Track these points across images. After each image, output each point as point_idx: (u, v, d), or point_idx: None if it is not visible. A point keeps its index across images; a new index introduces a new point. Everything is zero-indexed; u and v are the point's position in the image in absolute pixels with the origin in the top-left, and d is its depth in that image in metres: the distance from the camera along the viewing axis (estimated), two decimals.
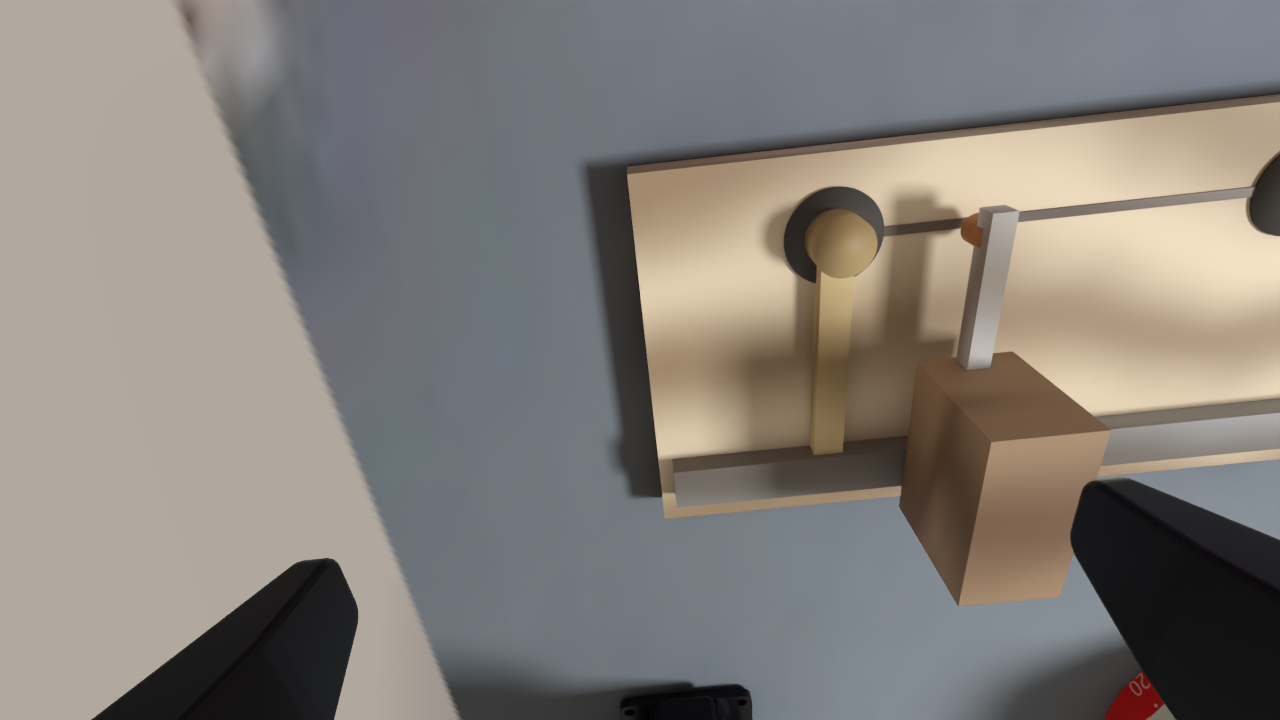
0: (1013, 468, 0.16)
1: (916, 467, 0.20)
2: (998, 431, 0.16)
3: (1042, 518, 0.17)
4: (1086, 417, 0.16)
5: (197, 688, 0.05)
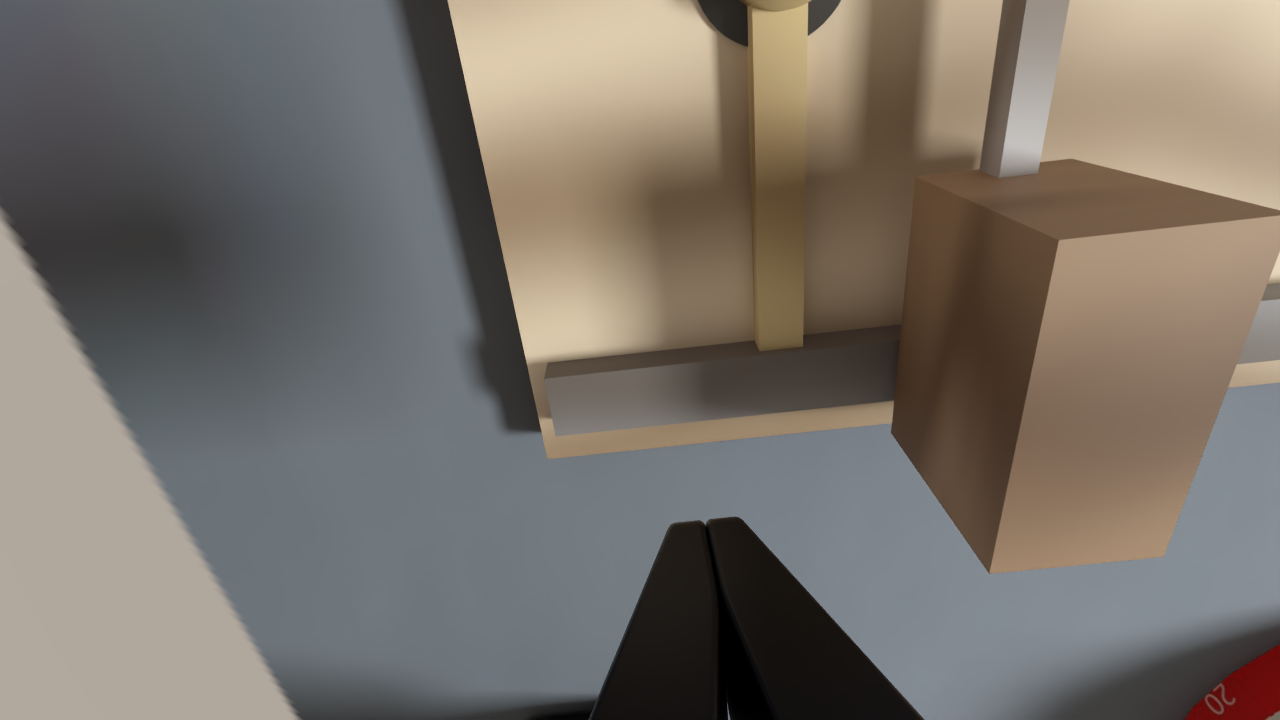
0: (1097, 300, 0.08)
1: (915, 358, 0.13)
2: (1069, 228, 0.08)
3: (1144, 406, 0.09)
4: (1234, 204, 0.08)
5: (698, 639, 0.05)
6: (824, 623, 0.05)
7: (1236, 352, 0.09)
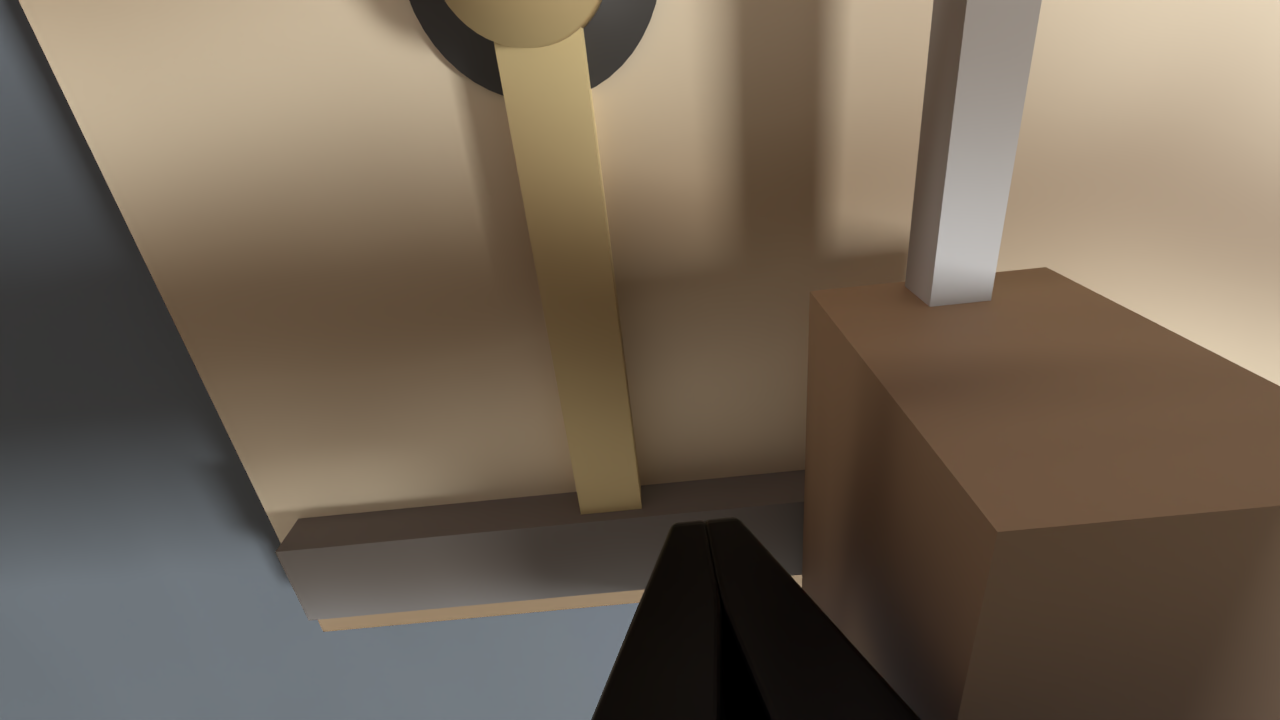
0: (1077, 623, 0.04)
1: (819, 547, 0.09)
2: (1022, 488, 0.04)
3: None
4: None
5: (700, 639, 0.05)
6: (821, 623, 0.05)
7: None
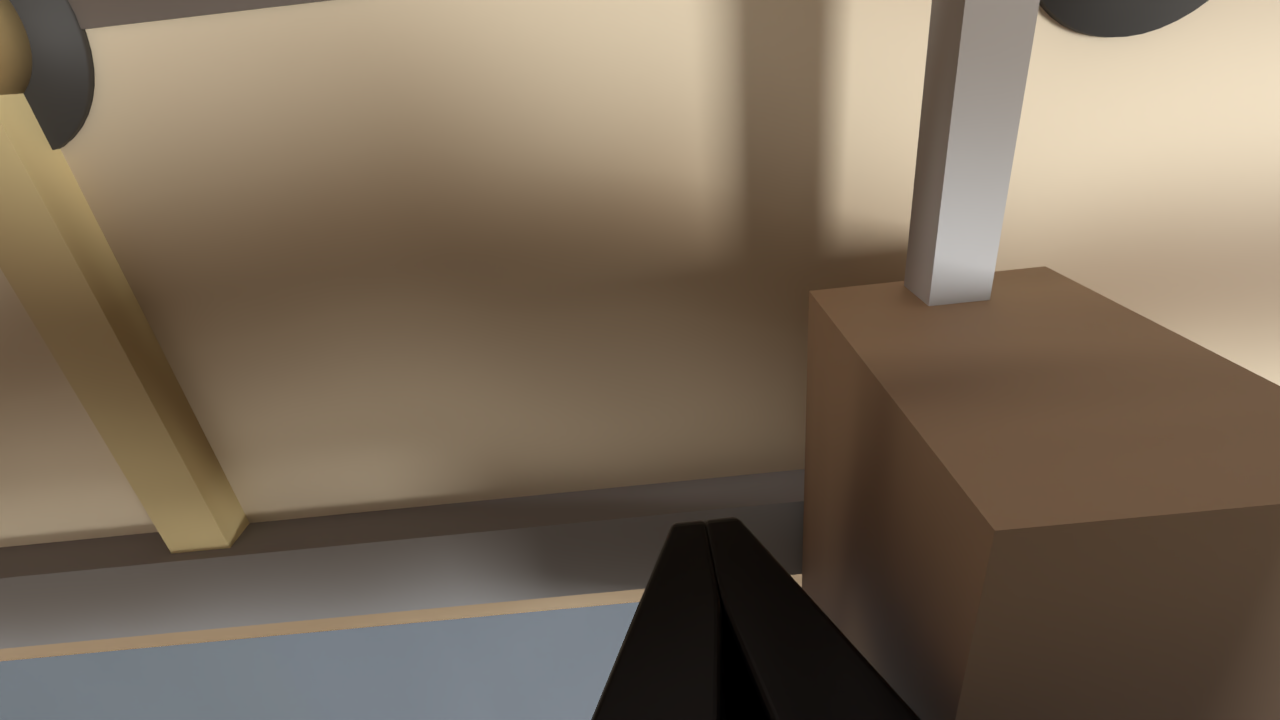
0: (1074, 621, 0.04)
1: (819, 547, 0.09)
2: (1018, 486, 0.04)
3: None
4: None
5: (700, 639, 0.05)
6: (821, 623, 0.05)
7: None
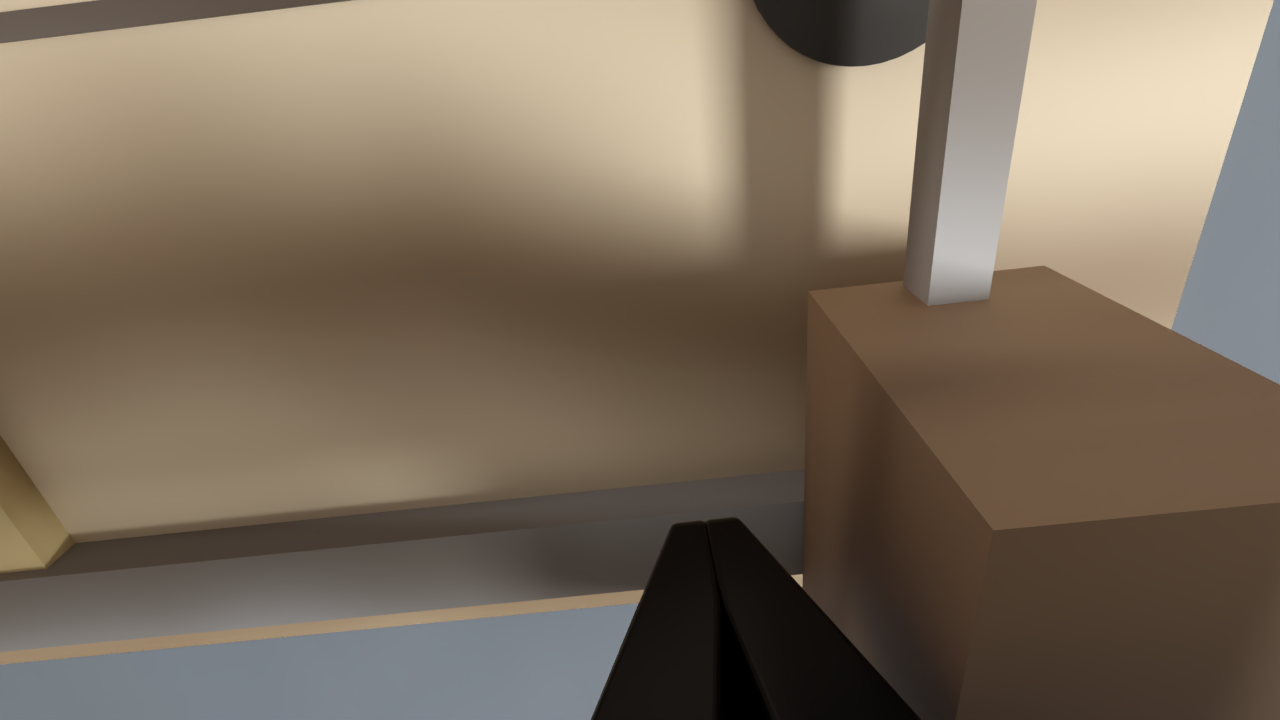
0: (1074, 619, 0.04)
1: (819, 546, 0.09)
2: (1018, 488, 0.04)
3: None
4: None
5: (700, 639, 0.05)
6: (822, 623, 0.05)
7: None
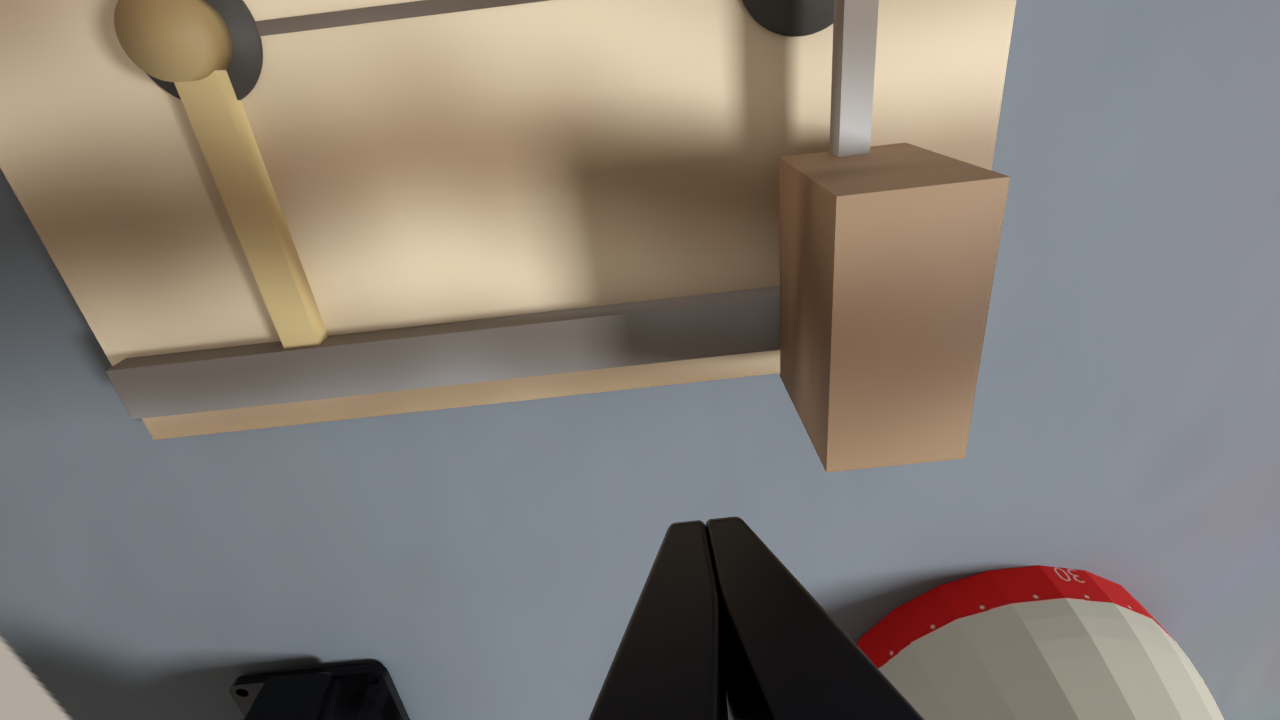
0: (874, 243, 0.11)
1: (787, 308, 0.15)
2: (851, 189, 0.11)
3: (926, 330, 0.12)
4: (979, 171, 0.11)
5: (698, 640, 0.05)
6: (824, 623, 0.05)
7: (989, 286, 0.12)
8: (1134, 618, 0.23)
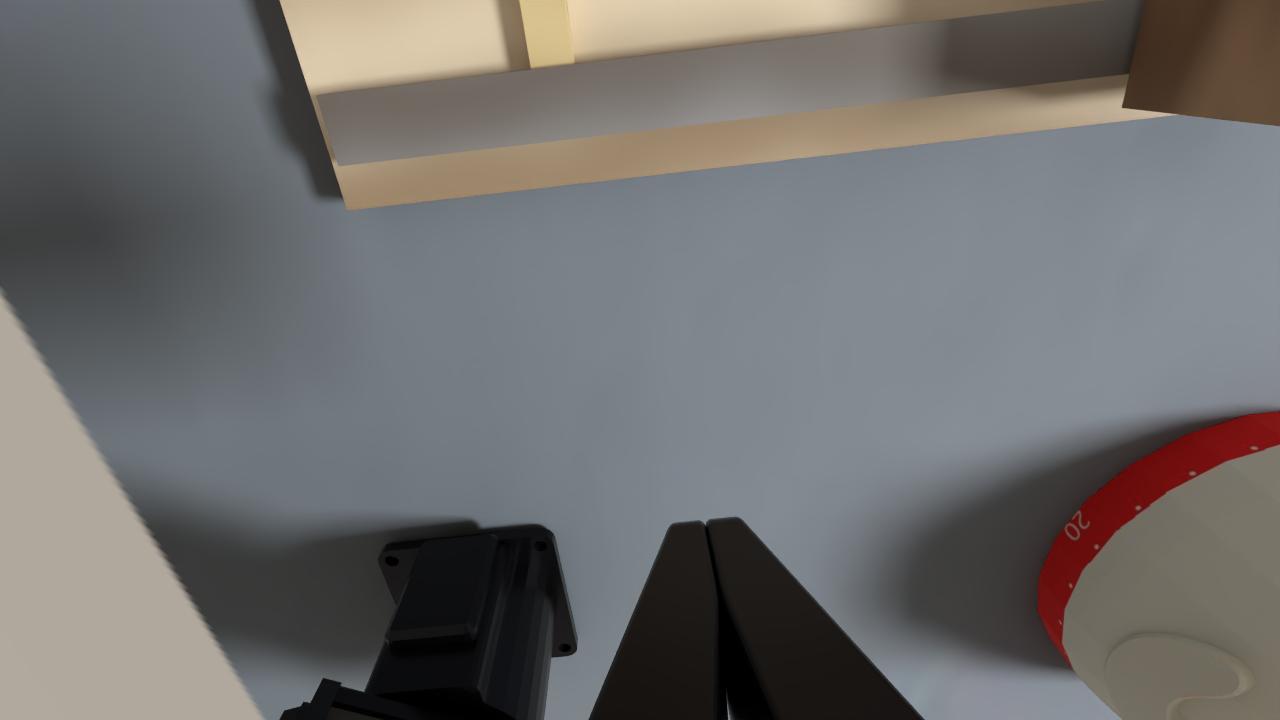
0: None
1: None
2: None
3: None
4: None
5: (698, 639, 0.05)
6: (824, 623, 0.05)
7: None
8: None
